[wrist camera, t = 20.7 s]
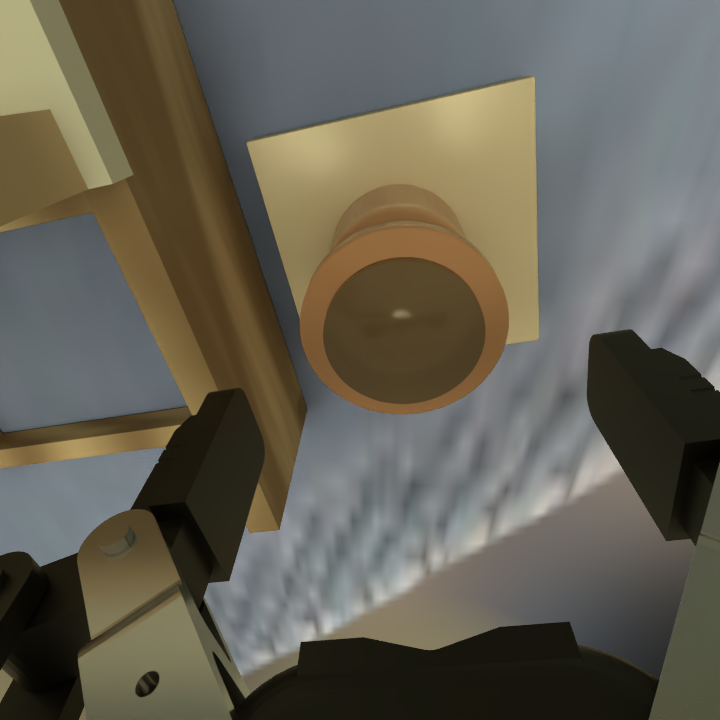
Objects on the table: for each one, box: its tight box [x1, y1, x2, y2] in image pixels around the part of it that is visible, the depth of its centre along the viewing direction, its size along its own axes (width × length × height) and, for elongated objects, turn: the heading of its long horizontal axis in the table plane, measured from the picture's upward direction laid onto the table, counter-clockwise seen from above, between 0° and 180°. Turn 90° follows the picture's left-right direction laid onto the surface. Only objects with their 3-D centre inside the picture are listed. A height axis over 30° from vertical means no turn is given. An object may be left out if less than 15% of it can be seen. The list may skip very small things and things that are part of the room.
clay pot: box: [300, 184, 509, 414], centre depth 16 cm, size 6×6×7 cm
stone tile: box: [246, 76, 539, 345], centre depth 19 cm, size 10×10×1 cm
